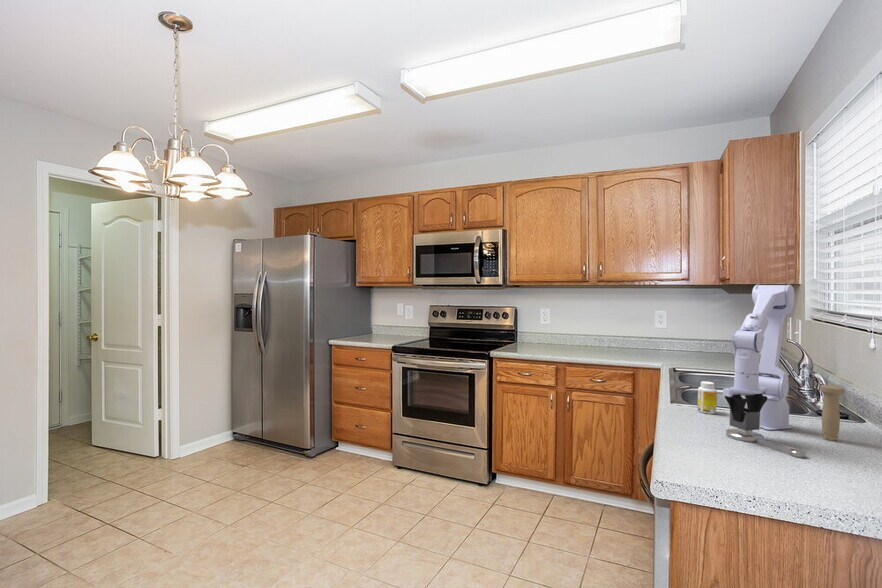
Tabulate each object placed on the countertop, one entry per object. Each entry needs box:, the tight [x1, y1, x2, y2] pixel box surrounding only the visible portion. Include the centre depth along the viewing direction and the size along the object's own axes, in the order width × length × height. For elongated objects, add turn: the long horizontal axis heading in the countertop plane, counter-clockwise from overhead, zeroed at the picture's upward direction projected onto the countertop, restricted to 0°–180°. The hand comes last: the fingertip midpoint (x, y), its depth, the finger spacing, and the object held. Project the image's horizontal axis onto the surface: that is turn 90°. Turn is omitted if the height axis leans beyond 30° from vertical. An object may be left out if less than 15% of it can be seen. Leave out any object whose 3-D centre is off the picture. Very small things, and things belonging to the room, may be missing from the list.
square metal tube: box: [729, 406, 760, 431], centre depth 127 cm, size 5×5×5 cm
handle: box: [819, 384, 844, 442], centre depth 127 cm, size 5×6×15 cm
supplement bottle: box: [697, 380, 718, 415], centre depth 154 cm, size 6×6×10 cm
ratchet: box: [725, 428, 807, 459], centre depth 122 cm, size 9×21×5 cm, turn 16°
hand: (745, 420), depth 127 cm, fingers closed on square metal tube, 5 cm apart
